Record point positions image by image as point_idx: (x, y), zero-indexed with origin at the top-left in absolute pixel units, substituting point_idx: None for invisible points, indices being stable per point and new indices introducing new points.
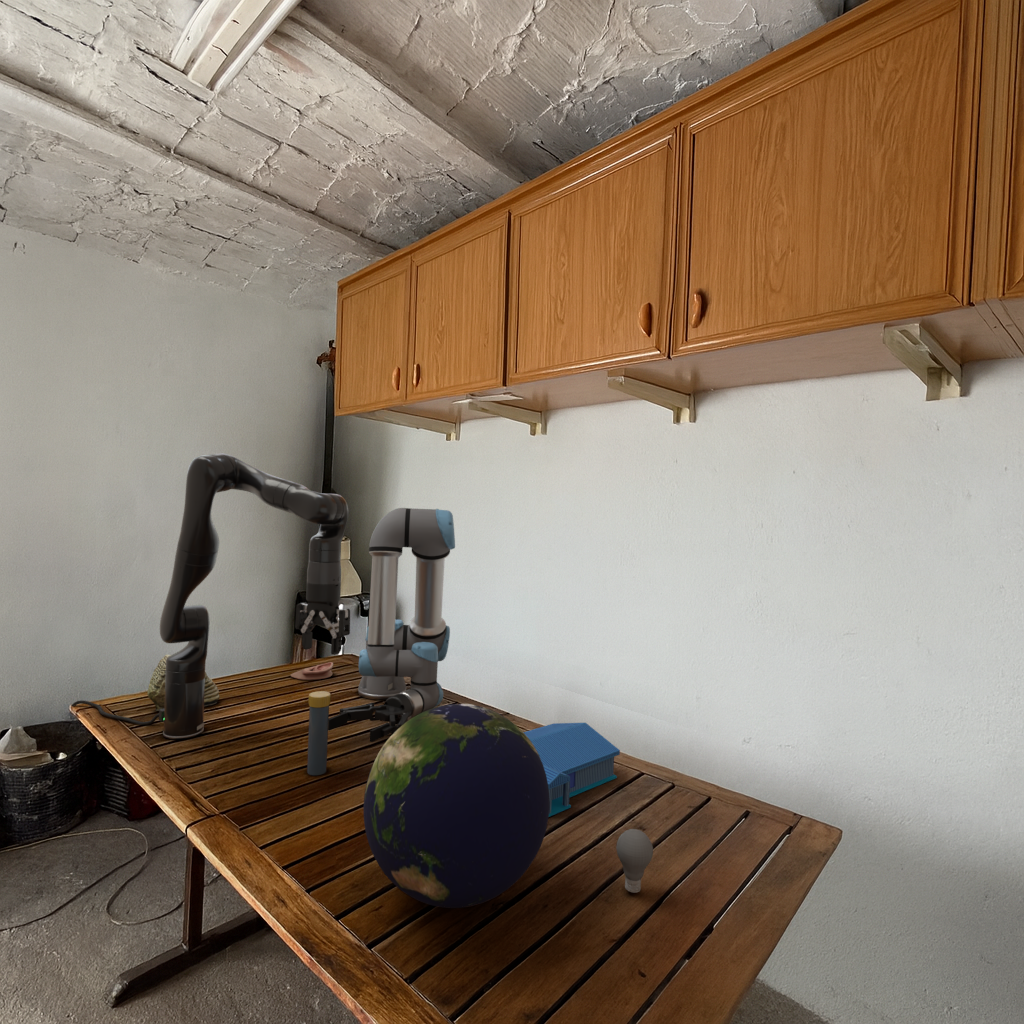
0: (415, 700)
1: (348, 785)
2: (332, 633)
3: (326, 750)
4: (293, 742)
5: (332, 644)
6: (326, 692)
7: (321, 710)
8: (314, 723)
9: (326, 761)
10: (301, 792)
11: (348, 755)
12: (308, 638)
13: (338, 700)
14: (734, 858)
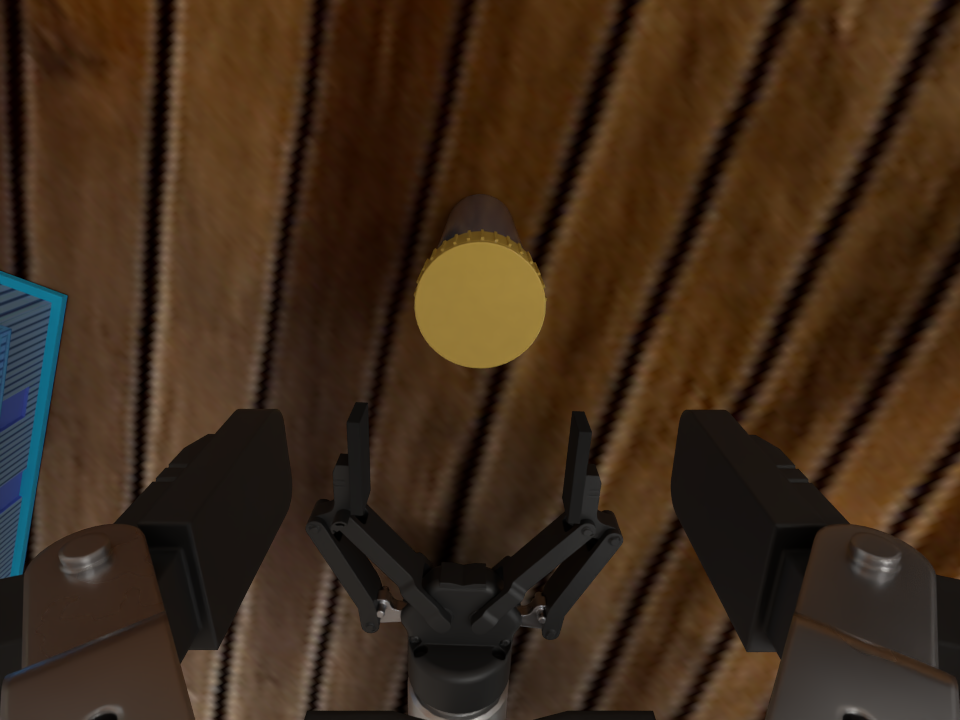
0: (413, 710)
1: (311, 198)
2: (113, 583)
3: None
4: (717, 373)
5: (209, 467)
6: (470, 356)
7: None
8: (467, 224)
9: None
10: (406, 64)
11: (477, 382)
12: (726, 526)
13: None
14: None
